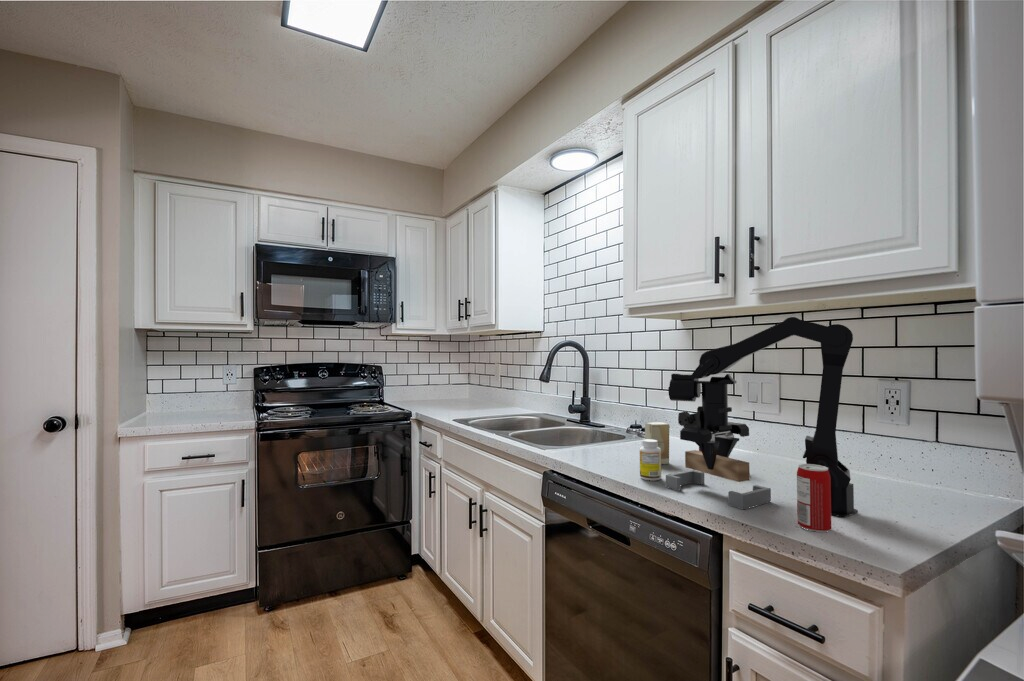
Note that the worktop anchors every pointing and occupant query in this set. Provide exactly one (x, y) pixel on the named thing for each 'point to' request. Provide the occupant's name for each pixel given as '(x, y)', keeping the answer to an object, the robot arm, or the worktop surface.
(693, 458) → the slat
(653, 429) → the skincare box
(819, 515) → the soda can
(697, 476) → the end cap
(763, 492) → the end cap
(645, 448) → the supplement bottle
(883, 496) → the worktop surface
